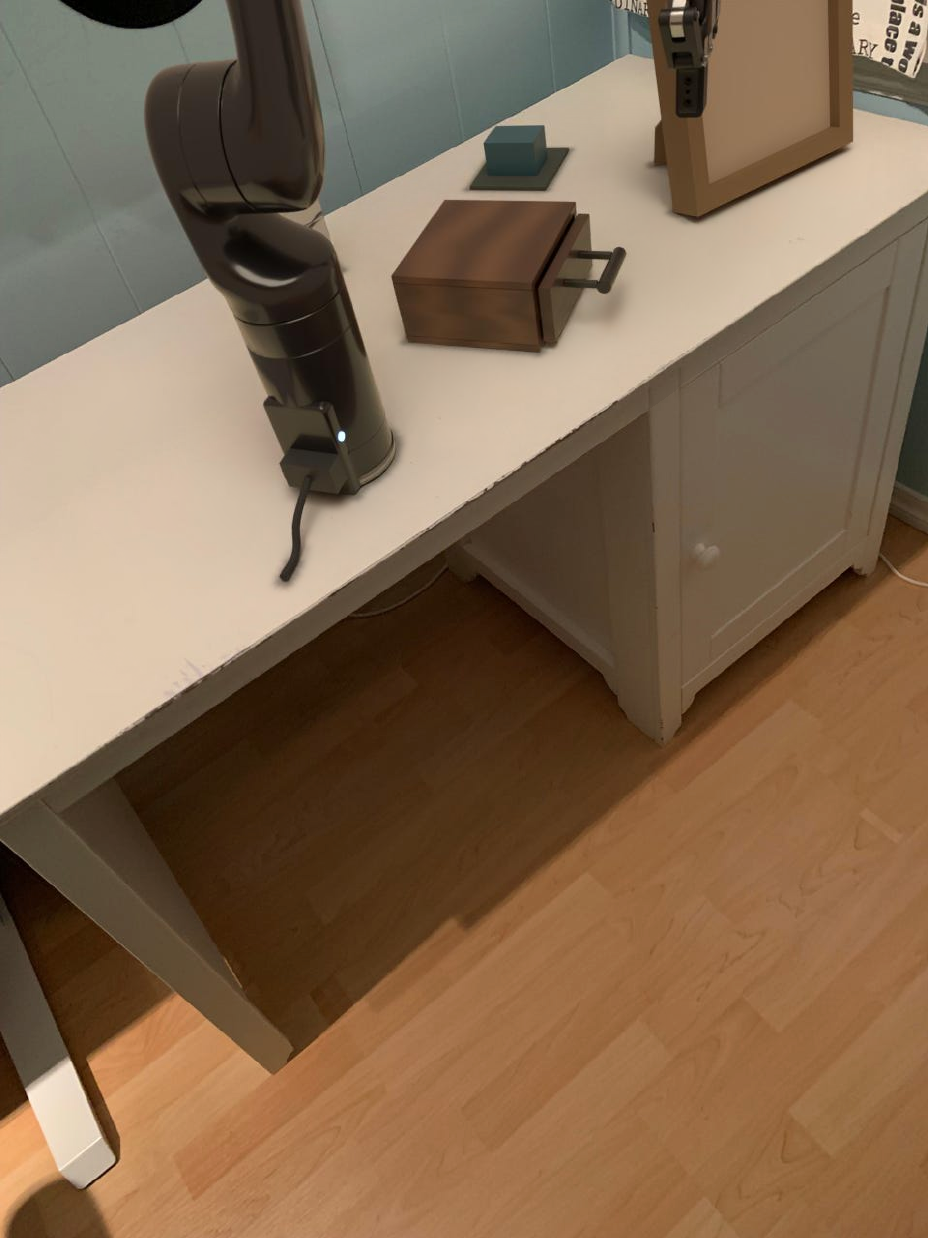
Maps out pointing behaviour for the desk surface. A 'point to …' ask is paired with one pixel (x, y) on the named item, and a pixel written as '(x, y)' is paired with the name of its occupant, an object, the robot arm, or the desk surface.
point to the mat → (522, 182)
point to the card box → (516, 150)
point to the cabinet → (480, 273)
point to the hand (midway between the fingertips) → (690, 112)
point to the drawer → (572, 275)
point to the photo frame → (757, 99)
